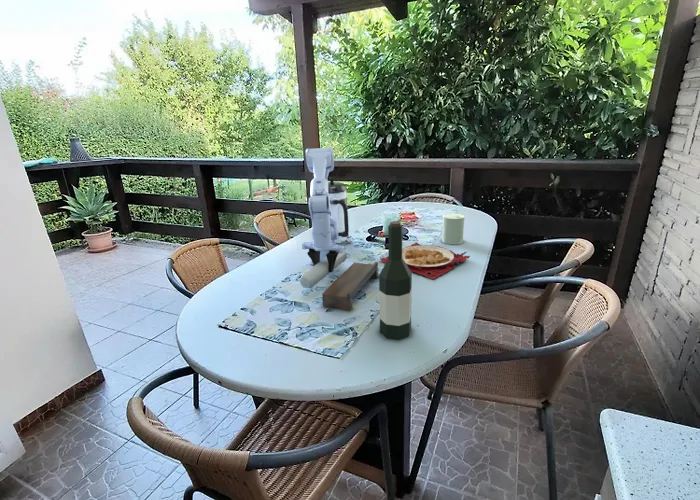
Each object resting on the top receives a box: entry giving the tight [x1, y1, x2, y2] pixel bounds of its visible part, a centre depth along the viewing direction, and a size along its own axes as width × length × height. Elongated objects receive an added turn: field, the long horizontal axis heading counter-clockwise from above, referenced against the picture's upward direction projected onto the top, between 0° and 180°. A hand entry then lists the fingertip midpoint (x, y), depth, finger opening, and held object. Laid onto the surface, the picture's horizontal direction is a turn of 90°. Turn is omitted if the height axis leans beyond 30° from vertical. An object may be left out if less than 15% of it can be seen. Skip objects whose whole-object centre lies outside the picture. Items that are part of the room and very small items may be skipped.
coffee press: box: [328, 176, 352, 244], centre depth 162 cm, size 17×16×30 cm
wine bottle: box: [378, 220, 413, 341], centre depth 92 cm, size 8×8×30 cm
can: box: [441, 212, 466, 245], centre depth 161 cm, size 9×9×12 cm
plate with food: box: [379, 242, 471, 280], centre depth 142 cm, size 24×26×3 cm
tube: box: [299, 250, 348, 289], centre depth 122 cm, size 5×5×25 cm
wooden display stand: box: [321, 261, 379, 312], centre depth 120 cm, size 9×26×6 cm, turn 157°
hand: (324, 270), depth 123 cm, fingers closed on tube, 4 cm apart
